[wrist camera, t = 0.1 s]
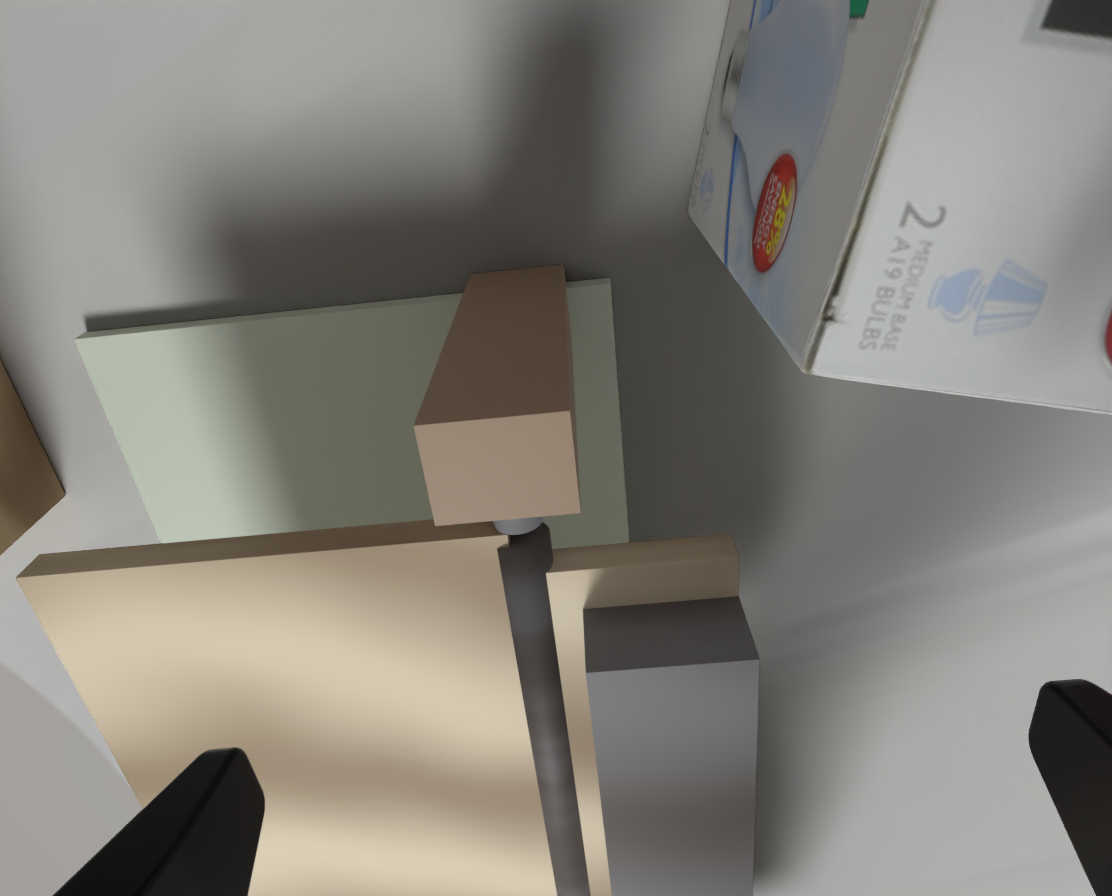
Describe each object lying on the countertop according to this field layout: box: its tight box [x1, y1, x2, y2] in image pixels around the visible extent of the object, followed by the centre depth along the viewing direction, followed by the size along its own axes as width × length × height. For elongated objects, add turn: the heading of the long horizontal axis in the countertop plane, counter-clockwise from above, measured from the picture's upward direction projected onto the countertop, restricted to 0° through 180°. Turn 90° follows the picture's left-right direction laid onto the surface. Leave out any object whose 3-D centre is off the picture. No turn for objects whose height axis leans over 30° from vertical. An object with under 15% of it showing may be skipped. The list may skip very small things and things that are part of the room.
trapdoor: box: [16, 519, 760, 896], centre depth 18 cm, size 14×14×3 cm
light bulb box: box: [688, 0, 1112, 415], centre depth 13 cm, size 11×7×11 cm, turn 173°
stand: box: [74, 264, 629, 549], centre depth 21 cm, size 20×15×9 cm
